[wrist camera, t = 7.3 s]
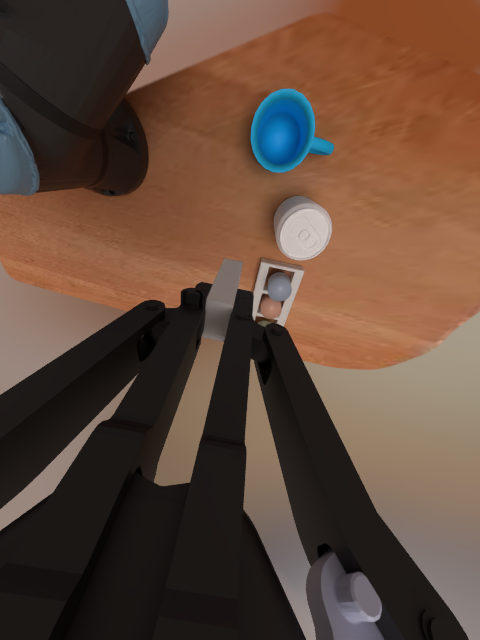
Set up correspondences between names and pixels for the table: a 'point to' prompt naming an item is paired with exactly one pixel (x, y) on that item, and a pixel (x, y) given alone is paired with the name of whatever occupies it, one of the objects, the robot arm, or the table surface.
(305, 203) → the beverage can
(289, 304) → the three-ball tray
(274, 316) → the button terracotta
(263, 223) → the table surface
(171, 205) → the table surface
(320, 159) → the table surface
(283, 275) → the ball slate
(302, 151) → the mug
